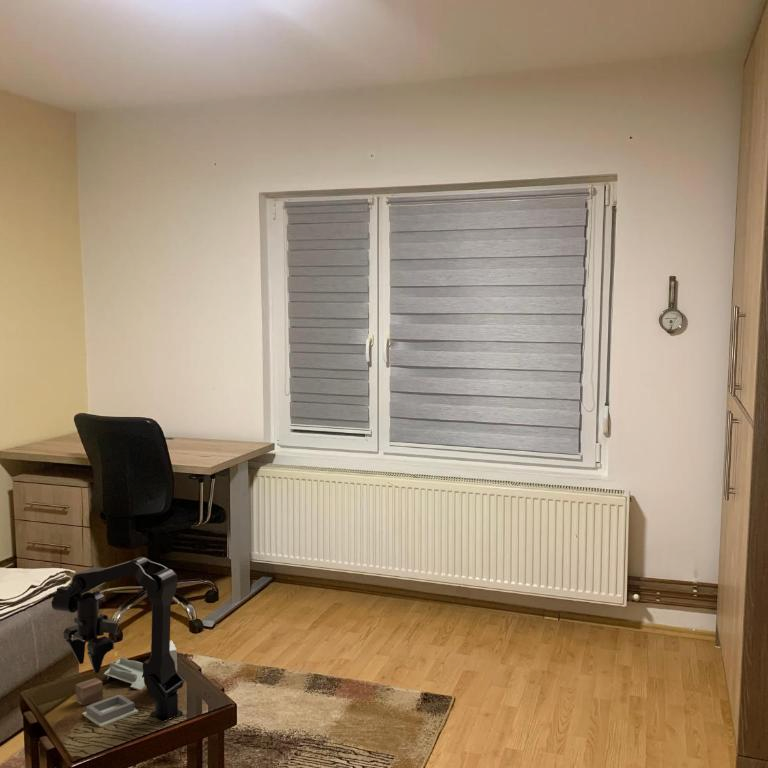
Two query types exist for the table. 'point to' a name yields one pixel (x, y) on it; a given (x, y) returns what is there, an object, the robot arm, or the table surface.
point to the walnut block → (89, 691)
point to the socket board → (110, 710)
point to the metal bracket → (127, 672)
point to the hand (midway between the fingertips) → (89, 668)
